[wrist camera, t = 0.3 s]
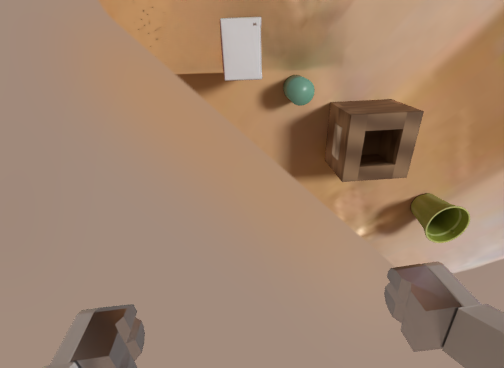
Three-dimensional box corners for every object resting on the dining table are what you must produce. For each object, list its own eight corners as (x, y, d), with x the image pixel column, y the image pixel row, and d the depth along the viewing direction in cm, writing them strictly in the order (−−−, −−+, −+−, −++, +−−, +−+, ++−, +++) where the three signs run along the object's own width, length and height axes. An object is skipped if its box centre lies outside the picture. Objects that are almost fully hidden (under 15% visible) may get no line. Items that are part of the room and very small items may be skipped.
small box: (220, 20, 45) (219, 16, 36) (254, 19, 46) (261, 15, 36) (224, 73, 49) (223, 81, 40) (255, 71, 49) (262, 79, 40)
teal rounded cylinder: (283, 75, 50) (289, 79, 46) (307, 74, 50) (315, 77, 46) (283, 100, 52) (288, 106, 48) (306, 99, 52) (313, 104, 48)
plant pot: (395, 212, 67) (416, 235, 59) (421, 180, 63) (448, 200, 55) (423, 224, 69) (447, 248, 62) (450, 195, 66) (479, 216, 58)
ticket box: (329, 102, 53) (350, 115, 44) (391, 99, 54) (423, 111, 45) (324, 160, 59) (341, 181, 50) (379, 156, 59) (406, 177, 51)
